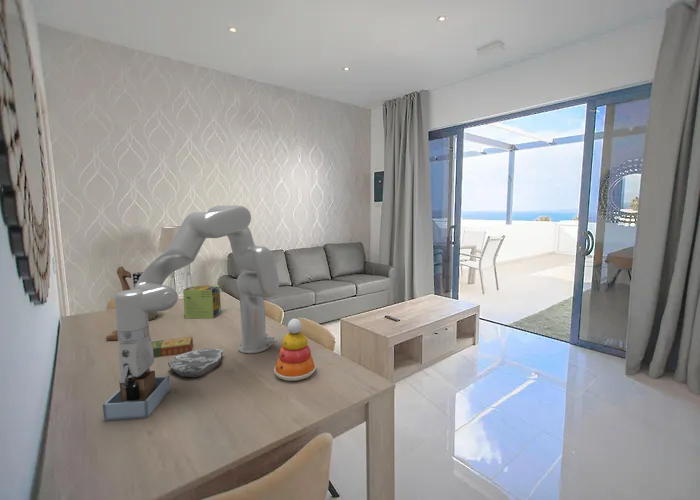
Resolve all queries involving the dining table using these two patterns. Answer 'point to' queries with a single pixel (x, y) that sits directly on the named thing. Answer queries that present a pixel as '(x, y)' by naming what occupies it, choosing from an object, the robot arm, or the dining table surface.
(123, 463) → the dining table surface
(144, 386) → the walnut crate
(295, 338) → the stacking toy
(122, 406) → the blue tray
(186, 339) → the carton
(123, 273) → the bird sculpture
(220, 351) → the brain slice
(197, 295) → the protein box
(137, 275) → the spotted tube
